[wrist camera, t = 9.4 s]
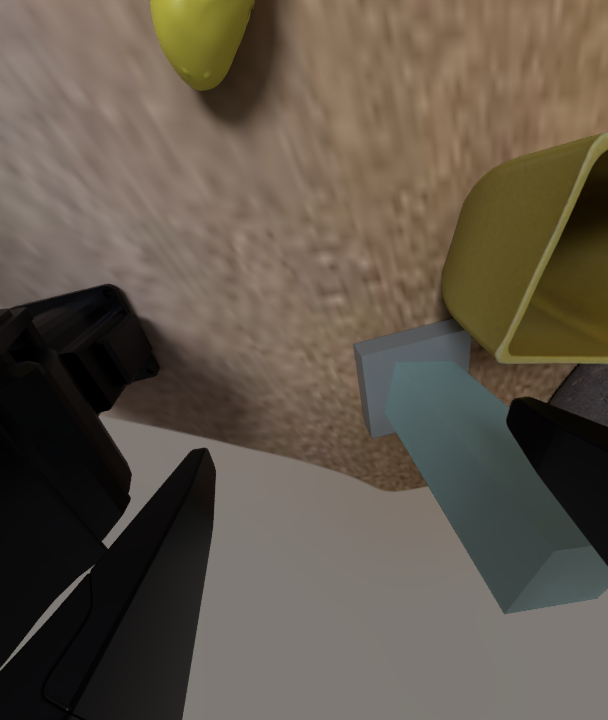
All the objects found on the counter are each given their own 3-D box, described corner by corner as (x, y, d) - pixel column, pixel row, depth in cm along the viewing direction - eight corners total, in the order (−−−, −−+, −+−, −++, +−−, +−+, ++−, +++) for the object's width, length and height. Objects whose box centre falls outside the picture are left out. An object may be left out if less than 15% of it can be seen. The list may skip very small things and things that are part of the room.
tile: (364, 422, 26) (371, 438, 25) (353, 343, 22) (361, 356, 21) (451, 399, 27) (465, 414, 25) (455, 317, 23) (472, 328, 21)
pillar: (384, 412, 23) (504, 614, 12) (396, 362, 21) (554, 551, 10) (437, 409, 24) (597, 598, 13) (453, 361, 22) (662, 536, 11)
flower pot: (514, 308, 23) (647, 366, 15) (408, 303, 21) (495, 366, 14) (572, 173, 19) (797, 158, 11) (446, 157, 17) (602, 126, 10)
